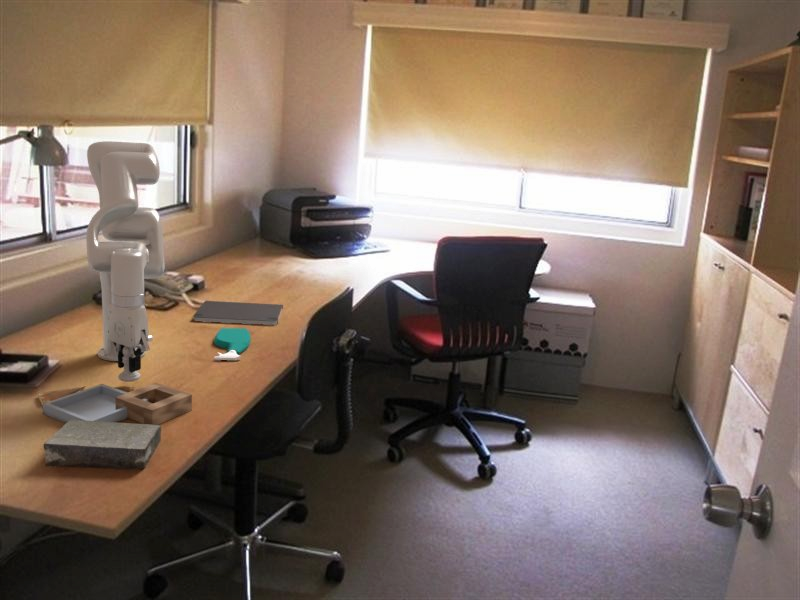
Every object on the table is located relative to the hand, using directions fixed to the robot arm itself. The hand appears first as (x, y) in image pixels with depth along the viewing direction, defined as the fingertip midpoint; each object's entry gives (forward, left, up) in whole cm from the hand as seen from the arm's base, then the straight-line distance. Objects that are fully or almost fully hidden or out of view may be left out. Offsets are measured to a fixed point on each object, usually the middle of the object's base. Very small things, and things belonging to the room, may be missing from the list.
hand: (129, 367), depth 180 cm
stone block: (+27, +24, -6) cm, 36 cm away
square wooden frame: (+7, +16, -5) cm, 18 cm away
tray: (+15, +6, -5) cm, 17 cm away
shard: (+15, -8, -6) cm, 18 cm away
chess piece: (0, 0, -3) cm, 3 cm away
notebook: (-68, -24, -6) cm, 73 cm away
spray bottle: (-40, -2, -6) cm, 40 cm away
